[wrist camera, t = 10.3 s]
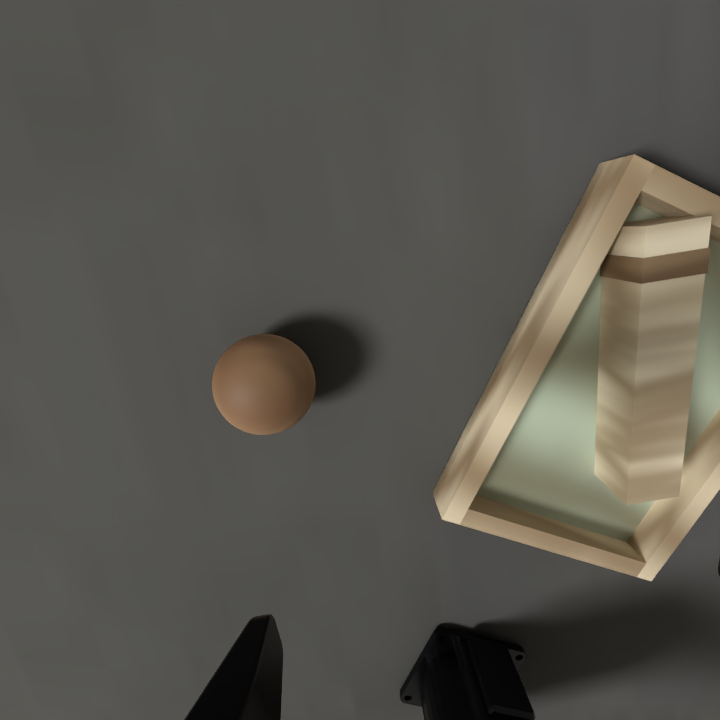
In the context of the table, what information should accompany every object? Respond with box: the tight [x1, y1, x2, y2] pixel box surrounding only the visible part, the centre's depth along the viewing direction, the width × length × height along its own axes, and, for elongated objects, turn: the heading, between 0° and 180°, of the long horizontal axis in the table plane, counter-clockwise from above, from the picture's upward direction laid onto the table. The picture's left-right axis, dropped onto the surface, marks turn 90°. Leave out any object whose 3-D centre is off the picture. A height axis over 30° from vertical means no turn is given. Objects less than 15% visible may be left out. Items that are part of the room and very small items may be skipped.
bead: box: [212, 334, 315, 435], centre depth 18 cm, size 4×4×4 cm
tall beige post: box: [594, 216, 712, 505], centre depth 19 cm, size 3×3×13 cm
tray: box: [432, 154, 720, 581], centre depth 20 cm, size 18×13×2 cm
